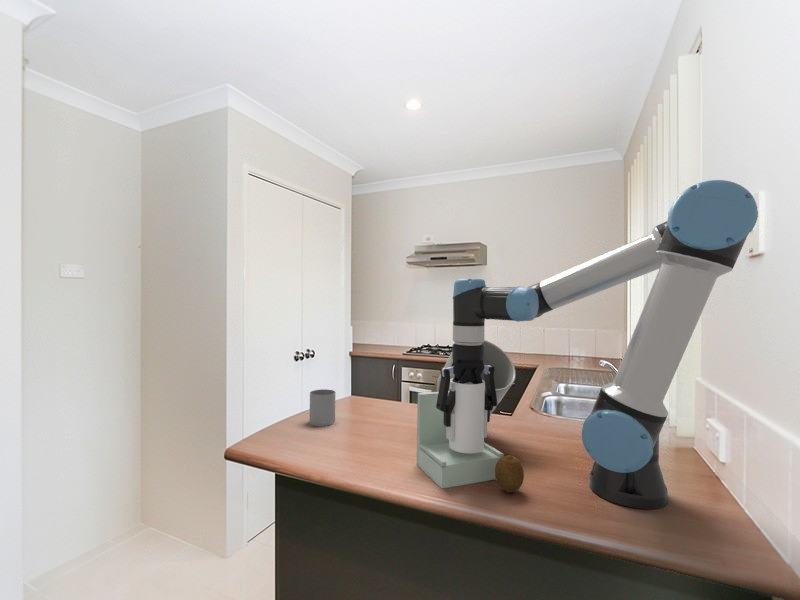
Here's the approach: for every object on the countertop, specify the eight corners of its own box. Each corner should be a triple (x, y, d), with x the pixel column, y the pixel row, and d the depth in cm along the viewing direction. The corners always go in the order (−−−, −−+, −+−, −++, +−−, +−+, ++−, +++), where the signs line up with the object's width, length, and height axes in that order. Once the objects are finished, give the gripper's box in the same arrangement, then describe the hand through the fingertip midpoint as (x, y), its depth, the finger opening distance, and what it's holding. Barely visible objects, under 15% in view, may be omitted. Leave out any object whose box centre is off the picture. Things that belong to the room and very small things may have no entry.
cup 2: (483, 455, 94) (484, 385, 94) (447, 451, 96) (448, 383, 96) (483, 442, 102) (484, 378, 102) (450, 439, 104) (451, 376, 104)
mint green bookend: (502, 478, 97) (504, 401, 97) (441, 488, 91) (443, 407, 91) (471, 456, 110) (472, 389, 110) (416, 464, 104) (417, 393, 104)
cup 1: (308, 419, 140) (309, 390, 140) (332, 417, 143) (333, 388, 143) (310, 427, 132) (311, 395, 132) (336, 425, 135) (337, 394, 135)
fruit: (488, 491, 91) (489, 454, 90) (504, 482, 95) (504, 447, 95) (514, 501, 86) (515, 463, 86) (529, 491, 90) (529, 455, 90)
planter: (439, 380, 141) (466, 328, 125) (488, 410, 137) (523, 360, 121) (414, 418, 127) (442, 364, 111) (468, 453, 123) (505, 402, 107)
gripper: (496, 340, 106) (494, 428, 106) (421, 342, 99) (420, 437, 99) (514, 343, 99) (512, 437, 99) (435, 346, 92) (434, 448, 92)
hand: (466, 437), depth 99 cm, fingers closed on cup 2, 8 cm apart
